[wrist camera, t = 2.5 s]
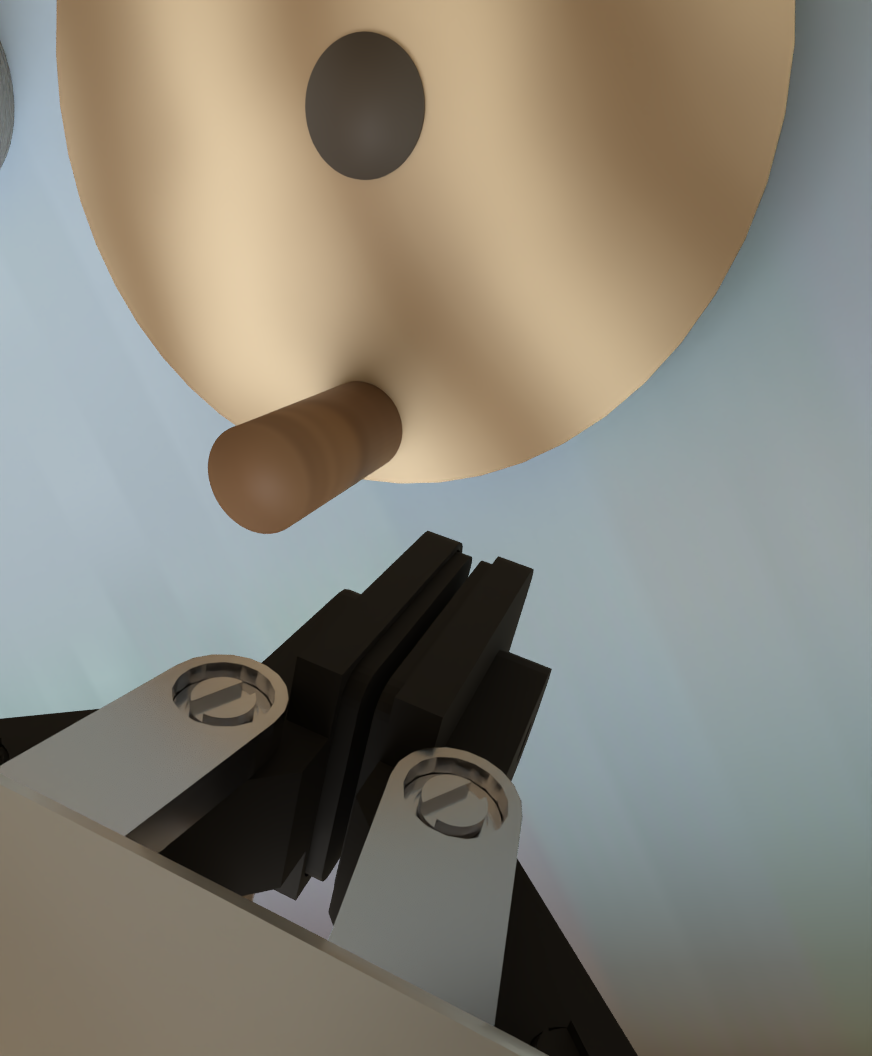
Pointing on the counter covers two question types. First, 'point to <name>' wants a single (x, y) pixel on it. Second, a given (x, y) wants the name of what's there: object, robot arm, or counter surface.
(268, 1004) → the robot arm
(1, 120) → the silver rounded piece
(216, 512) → the counter surface
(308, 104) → the turntable
